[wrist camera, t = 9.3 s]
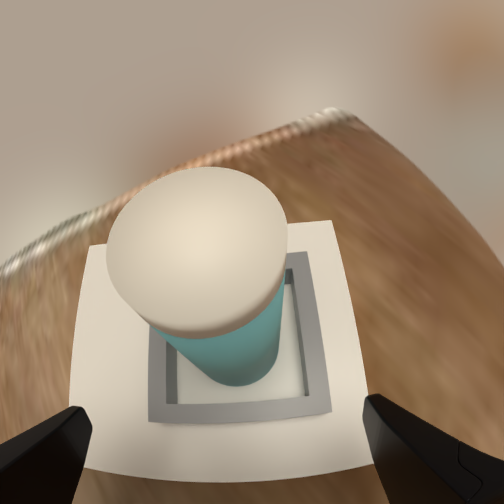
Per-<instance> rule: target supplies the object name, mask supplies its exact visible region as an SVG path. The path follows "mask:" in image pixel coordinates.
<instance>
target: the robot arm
mask: <svg viewBox="0 0 504 504" xmlns="http://www.w3.org/2000/svg"><path fill="white" fill-rule="evenodd" d="M362 420H363V424H364V428H365V432H366V436H367V440H368V443H369V447H370V451H371V455H372V459H373V462H374V465H375V467H376V470H377V472H378V475H379V477H380V480H381V483H382V485H383V488H384V490H385V493H386V495H387V498H388V500H389V503H390V504H504V461H503V460H501V459H498V458H495V457H493V456H490V455H488V454H486V453H483V452H481V451H479V450H477V449H475V448H473V447H471V446H469V445H467V444H465V443H463V442H462V441H459V440H458V439H456V438H454V437H452V436H450V435H449V434H447V433H445V432H443V431H442V430H440V429H438V428H436V427H434V426H433V425H431V424H429V423H428V422H426V421H424V420H422V419H421V418H419V417H417V416H415V415H414V414H412V413H410V412H409V411H407V410H405V409H404V408H402V407H400V406H399V405H397V404H395V403H394V402H392V401H390V400H389V399H387V398H385V397H384V396H382V395H380V394H372V395H368V396H366V397H365V400H364V407H363V414H362ZM92 430H93V427H92V423H91V421H90V419H89V417H88V415H87V413H86V411H85V409H84V408H83V407H81V406H70V407H69V408H67V409H65V410H63V411H61V412H60V413H58V414H56V415H54V416H52V417H51V418H49V419H47V420H45V421H43V422H42V423H40V424H38V425H36V426H34V427H32V428H31V429H29V430H27V431H25V432H23V433H21V434H19V435H17V436H16V437H14V438H12V439H10V440H8V441H6V442H4V443H2V444H0V504H72V501H73V498H74V495H75V492H76V489H77V485H78V482H79V479H80V476H81V474H82V471H83V467H84V464H85V460H86V456H87V452H88V447H89V443H90V439H91V435H92Z"/></svg>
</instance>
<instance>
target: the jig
mask: <svg viewBox="0 0 504 504" xmlns="http://www.w3.org/2000/svg"><path fill="white" fill-rule="evenodd" d="M287 228H288V241H287V256H286V269H285V282H284V295H283V307H282V318H281V329H280V340H279V350H278V355H277V359H276V361H275V364H274V365H273V367H272V368H271V370H270V371H269V372H268V373H267V374H266V375H265V376H264V377H263V378H261V379H260V380H258V381H257V382H255V383H252V384H250V385H246V386H239V387H232V386H226V385H223V384H220V383H218V382H216V381H214V380H212V379H211V378H210V377H208V376H207V375H206V374H205V373H203V372H202V371H201V370H200V369H199V368H197V367H196V366H195V365H194V364H193V363H191V362H190V361H189V360H188V359H187V358H186V357H184V356H183V355H182V354H181V353H180V352H179V351H178V350H176V349H175V348H174V347H173V346H172V345H171V344H170V343H168V342H167V341H166V340H165V339H164V338H163V337H162V336H161V335H160V334H159V333H157V332H156V331H155V330H154V329H153V328H152V327H151V326H150V325H149V324H148V323H147V322H146V321H145V320H144V319H143V318H142V317H140V316H139V315H138V314H137V313H136V312H135V311H134V310H133V309H132V308H131V307H130V306H129V305H128V304H127V303H126V302H125V301H124V300H123V299H122V298H121V297H120V295H119V294H118V292H117V291H116V290H115V288H114V286H113V284H112V282H111V280H110V277H109V274H108V270H107V263H106V248H107V244H101V245H93V246H90V247H89V252H88V256H87V261H86V266H85V271H84V276H83V281H82V287H81V292H80V298H79V304H78V311H77V318H76V325H75V333H74V342H73V351H72V362H71V376H70V395H69V407H70V406H81V407H83V408H84V409H85V411H86V413H87V415H88V417H89V419H90V421H91V423H92V427H93V430H92V435H91V439H90V443H89V447H88V452H87V456H86V460H85V464H84V467H85V468H89V469H94V470H99V471H104V472H109V473H115V474H121V475H127V476H134V477H141V478H150V479H159V480H170V481H185V482H255V481H270V480H281V479H291V478H299V477H306V476H313V475H320V474H326V473H332V472H337V471H342V470H347V469H352V468H356V467H361V466H365V465H369V464H373V463H374V462H373V459H372V455H371V451H370V447H369V443H368V440H367V436H366V432H365V428H364V424H363V420H362V414H363V407H364V400H365V397H366V396H368V391H367V385H366V378H365V372H364V366H363V360H362V354H361V349H360V343H359V338H358V333H357V328H356V323H355V318H354V313H353V308H352V303H351V299H350V294H349V290H348V285H347V281H346V276H345V272H344V268H343V264H342V260H341V256H340V252H339V248H338V244H337V240H336V236H335V232H334V228H333V225H332V221H331V220H328V221H316V222H305V223H294V224H287Z"/></svg>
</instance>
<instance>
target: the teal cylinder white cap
mask: <svg viewBox="0 0 504 504" xmlns="http://www.w3.org/2000/svg"><path fill="white" fill-rule="evenodd" d="M287 241H288V228H287V221H286V217H285V214H284V211H283V209H282V206H281V205H280V203H279V201H278V200H277V198H276V197H275V196H274V194H273V193H272V192H271V191H270V190H269V189H268V188H267V187H266V186H265V185H264V184H262V183H261V182H259V181H258V180H256V179H255V178H253V177H251V176H249V175H247V174H245V173H242V172H239V171H236V170H232V169H228V168H220V167H197V168H191V169H185V170H181V171H178V172H175V173H172V174H169V175H166V176H164V177H162V178H160V179H158V180H156V181H154V182H153V183H151V184H149V185H148V186H146V187H145V188H144V189H142V190H141V191H140V192H138V193H137V194H136V195H135V196H134V197H133V198H132V199H131V200H130V201H129V202H128V203H127V204H126V205H125V207H124V208H123V209H122V211H121V212H120V213H119V215H118V217H117V218H116V220H115V222H114V224H113V226H112V229H111V231H110V234H109V238H108V242H107V248H106V263H107V270H108V274H109V277H110V280H111V282H112V284H113V286H114V288H115V290H116V291H117V292H118V294H119V295H120V297H121V298H122V299H123V300H124V301H125V302H126V303H127V304H128V305H129V306H130V307H131V308H132V309H133V310H134V311H135V312H136V313H137V314H138V315H139V316H140V317H142V318H143V319H144V320H145V321H146V322H147V323H148V324H149V325H150V326H151V327H152V328H153V329H154V330H155V331H156V332H157V333H159V334H160V335H161V336H162V337H163V338H164V339H165V340H166V341H167V342H168V343H170V344H171V345H172V346H173V347H174V348H175V349H176V350H178V351H179V352H180V353H181V354H182V355H183V356H184V357H186V358H187V359H188V360H189V361H190V362H191V363H193V364H194V365H195V366H196V367H197V368H199V369H200V370H201V371H202V372H203V373H205V374H206V375H207V376H208V377H210V378H211V379H212V380H214V381H216V382H218V383H220V384H223V385H226V386H232V387H239V386H246V385H250V384H252V383H255V382H257V381H258V380H260V379H261V378H263V377H264V376H265V375H266V374H267V373H268V372H269V371H270V370H271V368H272V367H273V365H274V364H275V361H276V359H277V355H278V350H279V340H280V329H281V318H282V307H283V295H284V282H285V269H286V256H287Z"/></svg>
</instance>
